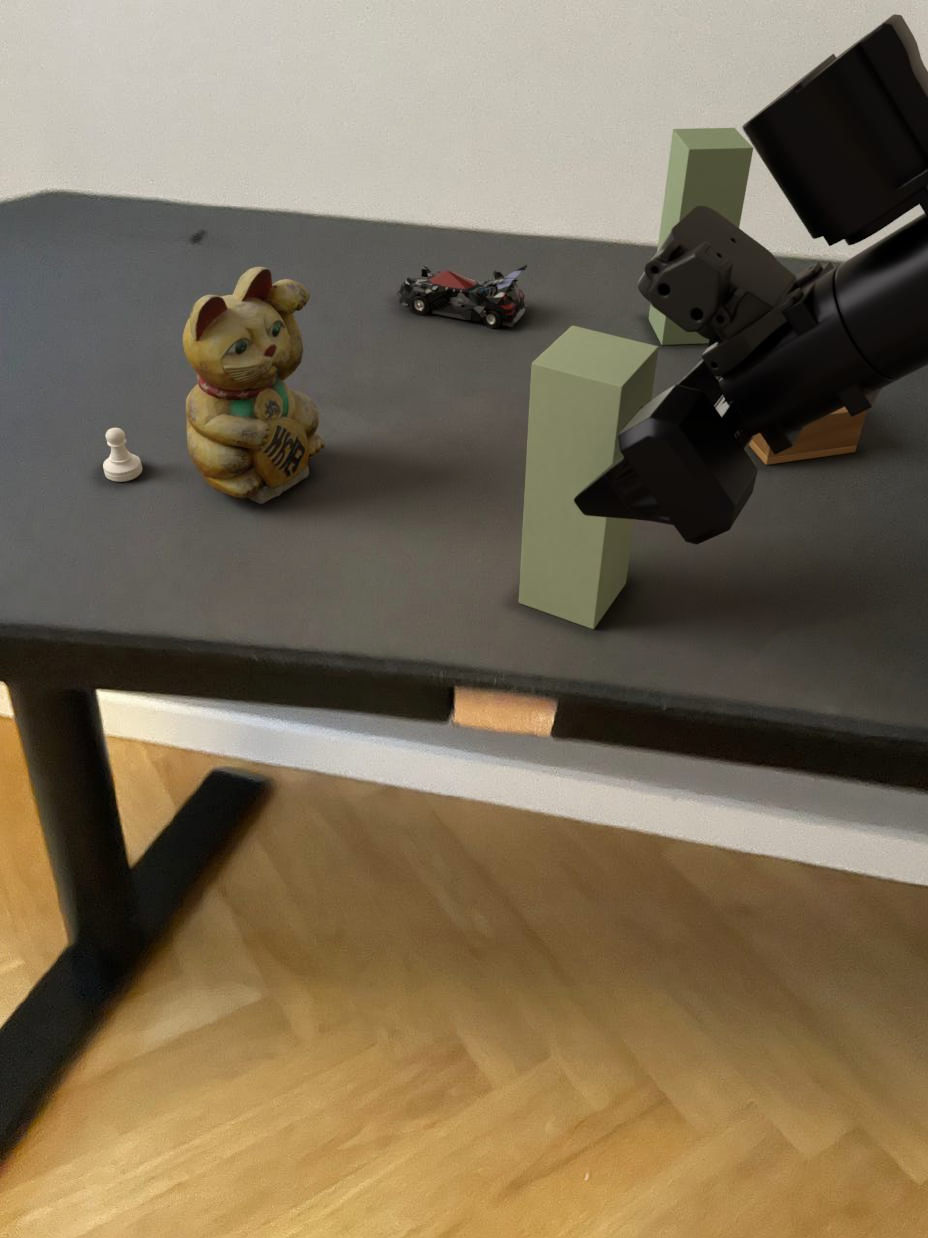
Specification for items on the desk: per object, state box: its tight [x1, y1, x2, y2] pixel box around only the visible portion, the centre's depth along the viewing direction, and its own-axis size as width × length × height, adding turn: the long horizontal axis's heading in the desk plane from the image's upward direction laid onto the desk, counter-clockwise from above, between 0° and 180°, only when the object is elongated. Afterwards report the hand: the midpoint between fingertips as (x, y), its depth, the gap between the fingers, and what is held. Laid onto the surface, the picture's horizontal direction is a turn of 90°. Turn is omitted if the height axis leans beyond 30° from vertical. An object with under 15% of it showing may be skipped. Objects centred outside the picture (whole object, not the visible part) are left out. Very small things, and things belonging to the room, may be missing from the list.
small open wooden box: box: [748, 407, 868, 466], centre depth 79 cm, size 7×7×4 cm
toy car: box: [396, 264, 529, 329], centre depth 94 cm, size 6×12×4 cm, turn 68°
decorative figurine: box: [181, 266, 326, 505], centre depth 70 cm, size 10×8×15 cm
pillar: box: [648, 127, 754, 346], centre depth 88 cm, size 5×5×16 cm
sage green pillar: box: [518, 325, 660, 630], centre depth 60 cm, size 5×5×16 cm
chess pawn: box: [102, 427, 143, 483], centre depth 74 cm, size 3×3×4 cm
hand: (614, 464), depth 58 cm, fingers open, 9 cm apart
